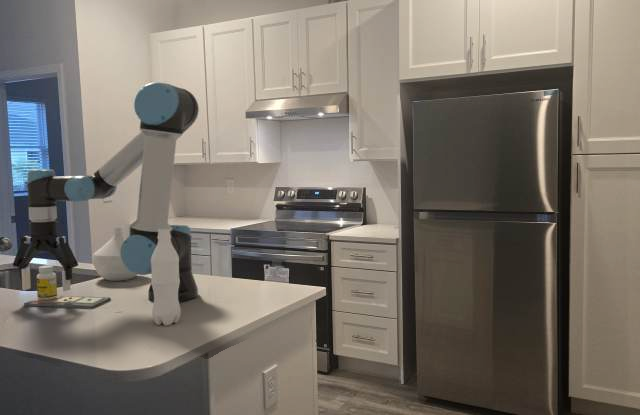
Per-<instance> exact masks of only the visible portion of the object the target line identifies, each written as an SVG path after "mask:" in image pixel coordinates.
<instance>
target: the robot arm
mask: <svg viewBox="0 0 640 415" xmlns="http://www.w3.org/2000/svg"><path fill="white" fill-rule="evenodd" d="M133 107H134V111H135V112H134V113H135V114H136V116H137V117H138V119H139V120H140V124H139V130H140V132H139V133H137V134H136V135H135V137H133V138H132V139H130V141H129V142H127V143H126V145H124V146H123V147H121V149H119V150H118V151H117V152H116V153H115V154H114V155H113V156H112V157H111V158H110V159H108V160H107V161H106V162H105V163H104V164H103V165H102V166H101V167H100V168H99V169H97V170H96V171H95V172H94V173H93V174H90V175H88V174H87V175H64V176H57V175H56V172H55V170H54V169H30V170H29V171H27V177H26V179H27V180H26V182H27V183H26V188H27V197H28V198H27V199H28V220H30V222H29V234H30V236H29V235H24V236H21V238H20V244H19V247H18V250H17V253H16V255H15V257H14V259H13V260H14V261H13V262H12V266H13V267H17V268H18V269H19V279H20V280H21V284H22V288H21V289H22V291H26V290H30V289H31V288H32V287H31V285H32V284H31V268H30V266H29V264H30V263H31V262H32V260H33V259H34V258H35V257H36V255H37V253H39V252H49V253H51V254H52V255H53V257H55V259H56V260H57V261H58V263H59V264H60V265H61V267H62V268H63V269H61V275H62V276H61V279H62V280H61V281H62V282H61V283H62V292H67V291H69V290H71V280H72V279H73V269H74V268H76V267H78V266H79V263H78V260H77V259H76V256H75V255H74V253H73V251H72V249H71V247H70V244H69V241H68V236H66V235H63V236H60V237H59V236H58V235H57V234H58V221H57V220H56V219H58V215H57V214H58V213H57V212H58V210H57V202H75V203H78V202H80V203H81V202H86V201H89V200H96V199H98V200H99V199H100V200H102V199H107V198H110V197H112V196H113V195H114V194H115V192H116V190H117V186H119V185H120V184H121V183H122V182H123V181H124V180H126V179H127V178H128V177H129V176H130V175H131V174H132V173H134V172H135V171H136V170H137V169H138V168H139V167H140V166H141V175H140V184H139V193H138V194H139V195H138V205H137V212H136V215H137V216H136V220H135V221H133V223H131V224H130V229H129V236H128V237H127V238H126V240H125V241H124V242H123V243H122V246H121V250H120V254H121V259H122V262H123V263H124V265H125V266H126V267H127V269H128V270H130V271H131V272H133V273H135V274H137V275H140V276H146V275H152V269H151V257H152V254H153V252H154V250H155V248H156V246H157V244H158V238H157V237H158V229H163V228H169V229H170V234H171V235H170V236H171V243H172V245H173V247H174V249H175V250H176V252H177V254H178V257H179V279H180V284H179V289H178V301H179V303H180V302H185V301H190V300H192V299H193V300H194V299H195V298H197V297H198V296H199V290H198V285H197V283H196V279H195V276H194V275H193V272H192V270H193V269H192V267H193V266H192V233H191V227H190V226H188V225H185V224H184V225H183V224H182V225H181V224H170V223H169V214H170V203H171V192H172V185H173V184H172V183H173V174H174V166H175V165H174V164H175V157H176V156H175V155H176V149H177V148H176V145H177V140H178V139H179V138H181V137H182V136H183V134H184V133H185V132H186V131H187V130H189V128H190V127H192V125H193V124H194V123H195V122H196V120H197V118H198V115H199V112H200V110H199V104H198V100H197V99H196V96H195V95H194V94H193V93H192V92H190V91H189V90H187V89H185V88H181V87H178V86H174V85H172V84H170V83H165V82H158V81H157V82H154V81H153V82H151V83H148V84H146V85H144V86H143V87H142V88H140V89H139V90H138V92H137V94H136V96H135V99H134V104H133ZM30 243H31V244H32V245H31V244H30ZM30 245H31V246H30ZM29 247H30V248H29ZM28 250H29V251H28ZM147 293H148V294H147V295H148V296H147V297H148V300H149V301H152V302H154V292H153V288H152V285H151V284H150V286H149V287H148V292H147Z"/></svg>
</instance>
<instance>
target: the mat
mask: <svg viewBox="0 0 640 415" xmlns="http://www.w3.org/2000/svg"><path fill="white" fill-rule="evenodd" d="M111 300H112V299H111V297H110V296H107V297H106V296H105V297H104V296H79V295H78V296H74V295H72V296H71V295H57V297H56V298H53V299H49V300H40V299H38V297H37V298H35V299H33V300H30V301H26V302H25V303H23V306H24V307H36V306H53V307H52V308H65V307H70V308H73V309H94V308H97V307H99V306H101V305H102V304H105V303H107V302H110V301H111Z"/></svg>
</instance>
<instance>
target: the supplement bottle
mask: <svg viewBox="0 0 640 415" xmlns="http://www.w3.org/2000/svg"><path fill="white" fill-rule="evenodd" d="M36 292H37V298H38V299H40V300H49V299H53V298H56V297H57V296H58V284H57V273H56V272H54V265H50V264H49V265H48V264H47V265H41V266H39V267H38V274H37V275H36Z"/></svg>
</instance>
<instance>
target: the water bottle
mask: <svg viewBox="0 0 640 415" xmlns="http://www.w3.org/2000/svg"><path fill="white" fill-rule="evenodd" d="M170 235H171V234H170V229H169V228H163V229H158V237H157V238H158V244H157V246H156V248H155V250H154V252H153V254H152V257H151V269H152V274H151V280H150V281H151V282H150V285H152V288H153V292H154V301H153V306H152V310H151V312H152V315H151V316H152V319H153V321H154V323H155V324H156V325H158V326H159V325H160V326H161V325H162V324H163V325H164V326H166V327H168V326H171V325H172V324H177V323H178V322H179V321H180V318H181V313H182V312H181V311H182V310H181V306H180V302H179V301H178V289H179V284H180V279H179V257H178V254H177V252H176V250H175V249H174V247H173V245H172V243H171V236H170Z"/></svg>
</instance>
